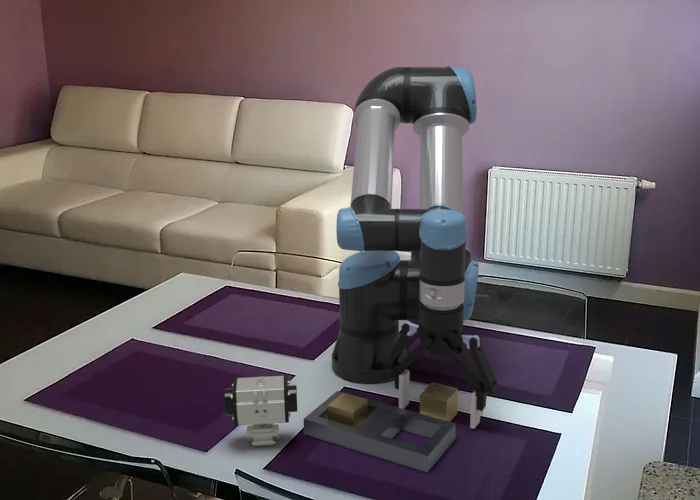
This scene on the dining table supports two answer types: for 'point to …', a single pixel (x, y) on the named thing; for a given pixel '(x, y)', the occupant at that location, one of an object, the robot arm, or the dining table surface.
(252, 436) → the pneumatic valve
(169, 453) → the dining table surface
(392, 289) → the robot arm
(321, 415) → the tray
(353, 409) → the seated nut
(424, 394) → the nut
